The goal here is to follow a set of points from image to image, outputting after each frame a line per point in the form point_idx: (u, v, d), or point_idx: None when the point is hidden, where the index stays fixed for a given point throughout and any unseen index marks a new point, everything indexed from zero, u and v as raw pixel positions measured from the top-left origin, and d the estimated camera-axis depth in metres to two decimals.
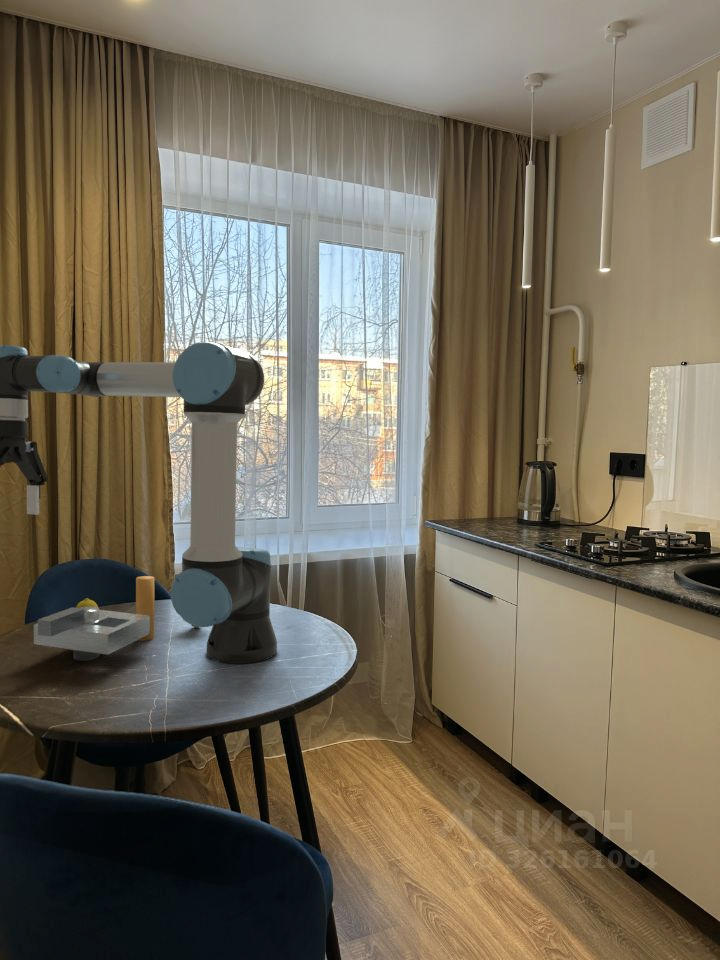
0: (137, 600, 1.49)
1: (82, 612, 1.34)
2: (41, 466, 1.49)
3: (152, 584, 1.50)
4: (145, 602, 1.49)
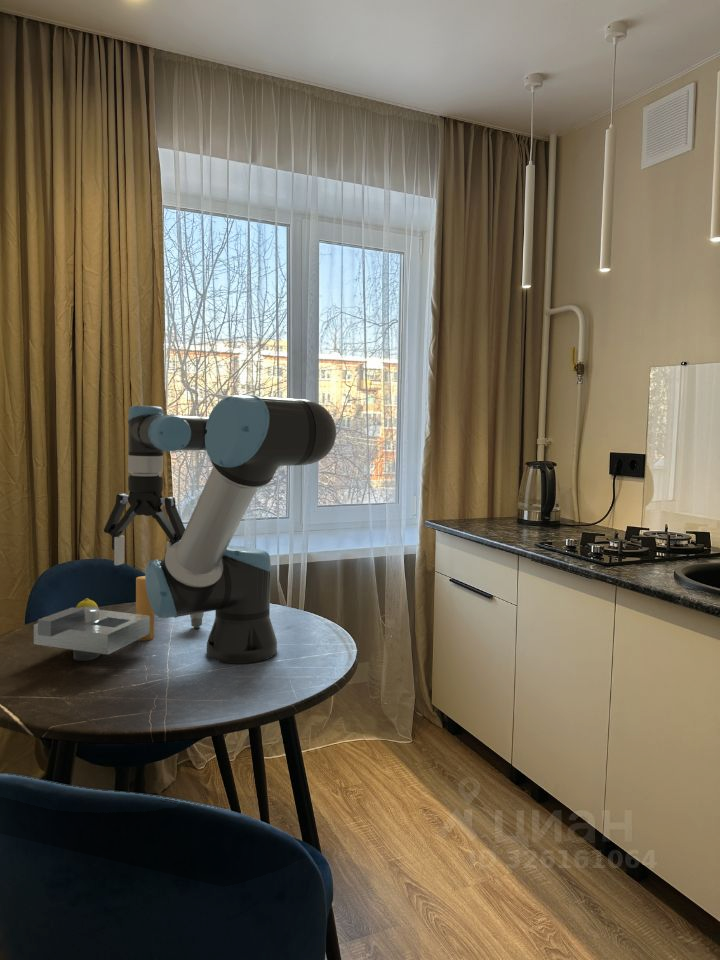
0: (137, 600, 1.49)
1: (82, 612, 1.34)
2: (174, 523, 1.46)
3: None
4: (145, 602, 1.49)
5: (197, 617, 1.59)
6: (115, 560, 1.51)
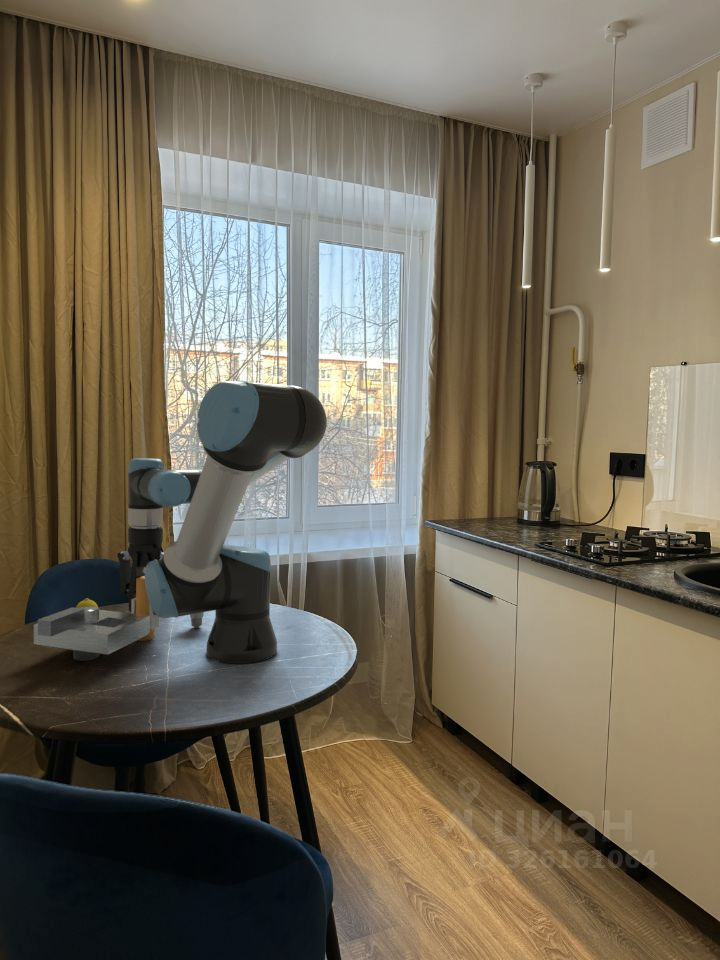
0: (137, 600, 1.49)
1: (82, 612, 1.34)
2: None
3: None
4: (145, 602, 1.49)
5: (197, 617, 1.59)
6: None
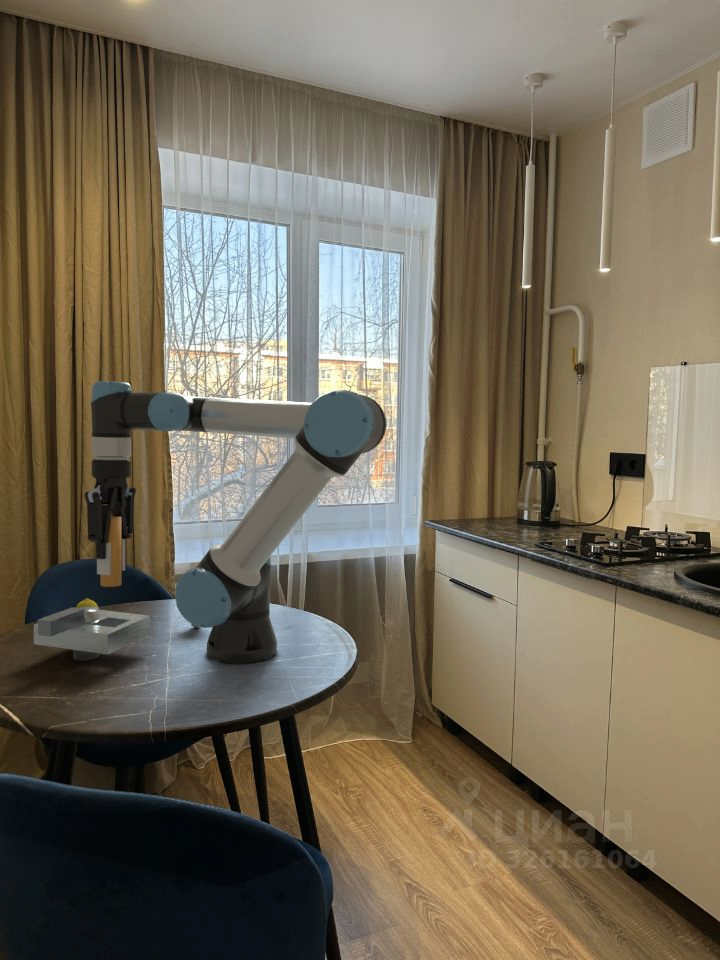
0: (116, 542, 1.34)
1: (82, 612, 1.34)
2: (132, 515, 1.39)
3: None
4: None
5: None
6: (109, 569, 1.32)
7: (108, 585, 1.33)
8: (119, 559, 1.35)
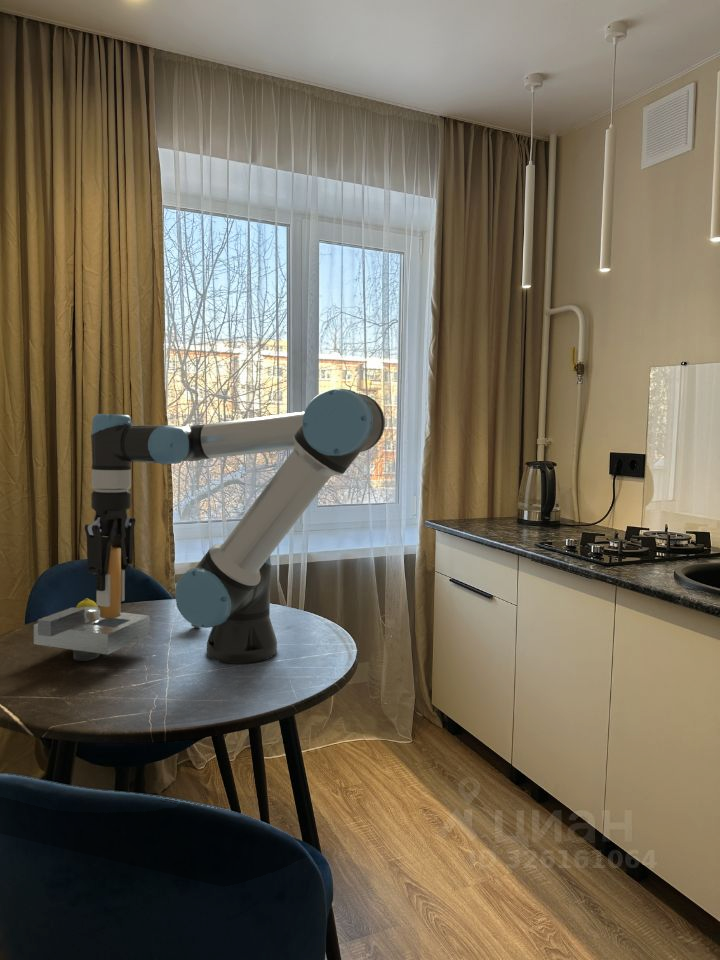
0: (115, 573, 1.34)
1: (82, 612, 1.34)
2: (131, 546, 1.40)
3: None
4: (120, 573, 1.36)
5: None
6: (108, 601, 1.33)
7: (107, 616, 1.34)
8: (118, 590, 1.35)
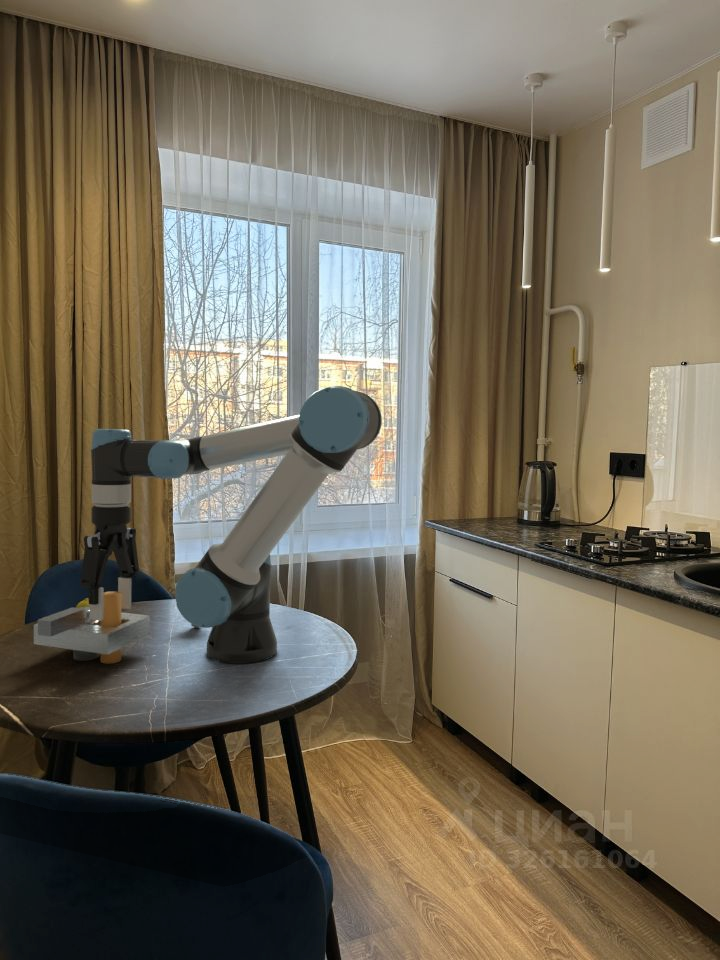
0: (116, 618, 1.35)
1: (82, 612, 1.34)
2: (135, 555, 1.41)
3: None
4: None
5: None
6: (102, 614, 1.31)
7: (108, 662, 1.35)
8: None
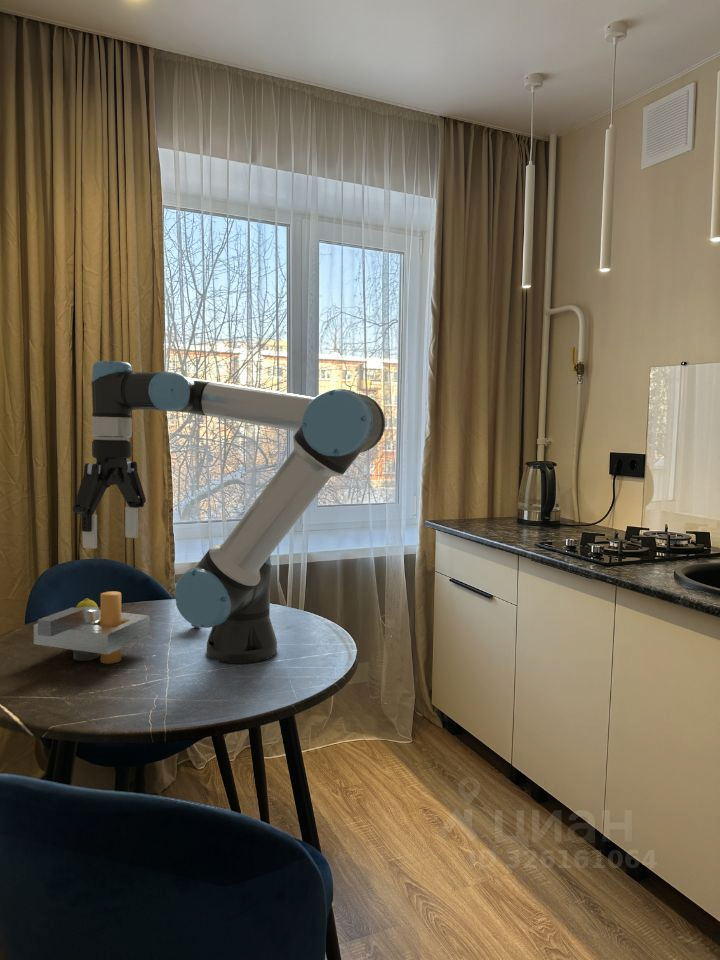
0: (116, 618, 1.35)
1: (82, 612, 1.34)
2: (140, 487, 1.42)
3: None
4: None
5: None
6: (95, 542, 1.28)
7: (108, 662, 1.35)
8: None
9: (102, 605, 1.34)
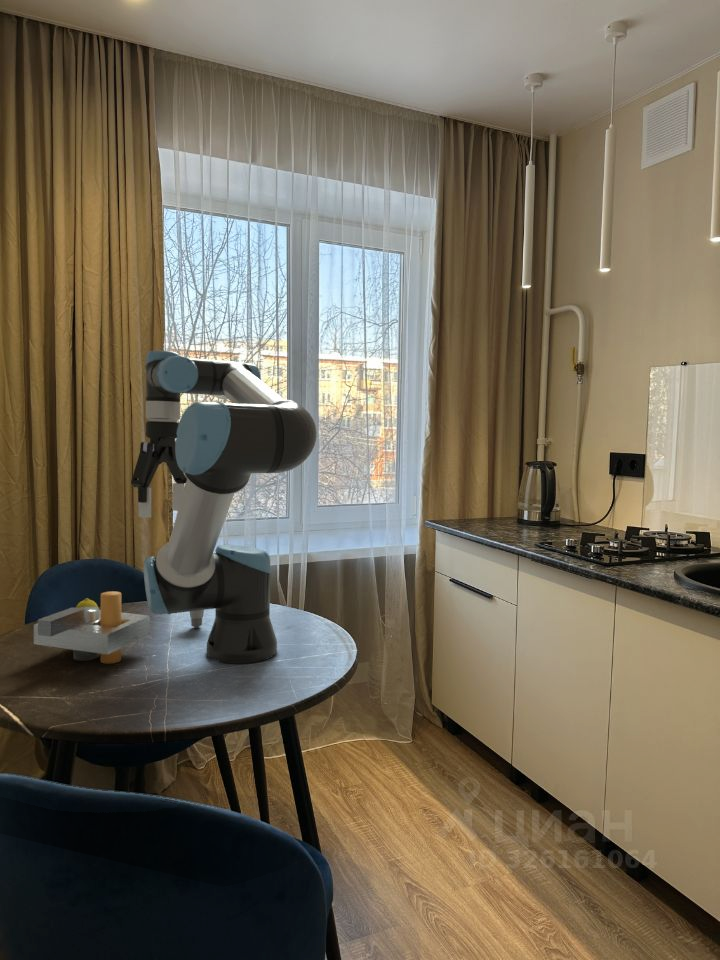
0: (116, 618, 1.35)
1: (82, 612, 1.34)
2: None
3: None
4: None
5: (197, 617, 1.59)
6: (149, 512, 1.44)
7: (108, 662, 1.35)
8: None
9: (102, 605, 1.34)
